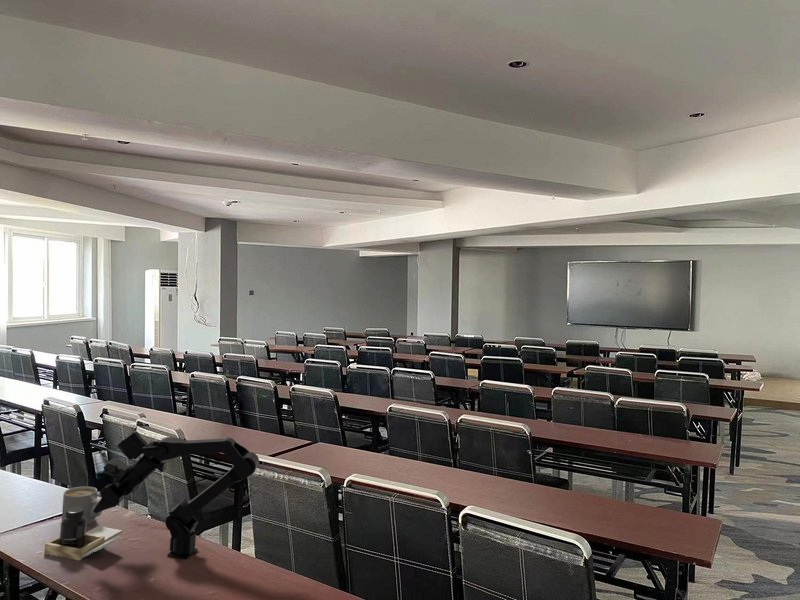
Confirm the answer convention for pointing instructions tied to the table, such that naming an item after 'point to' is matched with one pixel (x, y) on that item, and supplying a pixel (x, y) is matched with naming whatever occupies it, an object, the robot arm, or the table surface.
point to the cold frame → (70, 552)
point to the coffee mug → (81, 501)
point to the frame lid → (101, 546)
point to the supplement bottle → (73, 528)
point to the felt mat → (104, 532)
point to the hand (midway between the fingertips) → (101, 506)
